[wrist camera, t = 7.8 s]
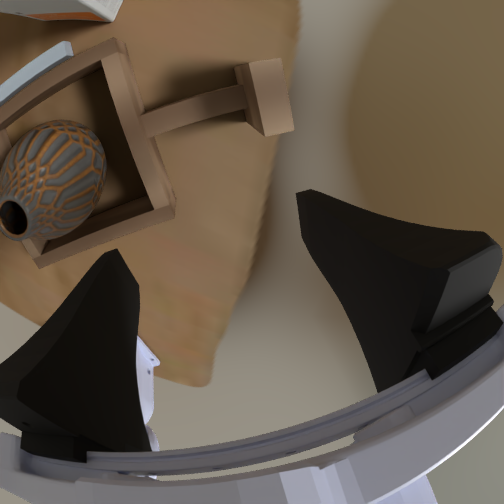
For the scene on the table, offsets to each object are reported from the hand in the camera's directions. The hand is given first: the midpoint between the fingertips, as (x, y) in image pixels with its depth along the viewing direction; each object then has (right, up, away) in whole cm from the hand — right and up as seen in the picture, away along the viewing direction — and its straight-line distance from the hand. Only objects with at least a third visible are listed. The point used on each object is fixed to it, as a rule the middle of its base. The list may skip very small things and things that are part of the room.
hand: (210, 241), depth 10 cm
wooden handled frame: (-7, +8, +5) cm, 12 cm away
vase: (-11, +6, +5) cm, 14 cm away
